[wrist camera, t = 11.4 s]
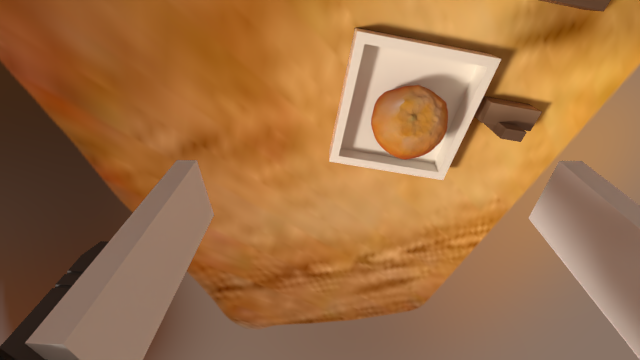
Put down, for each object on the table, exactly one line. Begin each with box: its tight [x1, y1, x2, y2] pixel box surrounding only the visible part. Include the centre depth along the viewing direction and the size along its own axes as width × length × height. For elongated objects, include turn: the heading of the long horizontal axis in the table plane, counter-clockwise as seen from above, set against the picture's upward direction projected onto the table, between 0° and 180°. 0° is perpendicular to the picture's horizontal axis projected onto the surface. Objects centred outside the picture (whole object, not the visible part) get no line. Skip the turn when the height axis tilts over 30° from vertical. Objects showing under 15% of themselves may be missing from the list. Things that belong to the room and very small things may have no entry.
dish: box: [329, 28, 501, 180], centre depth 34 cm, size 15×15×3 cm
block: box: [474, 0, 610, 142], centre depth 30 cm, size 16×6×4 cm, turn 170°
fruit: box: [371, 85, 448, 160], centre depth 33 cm, size 8×8×8 cm
